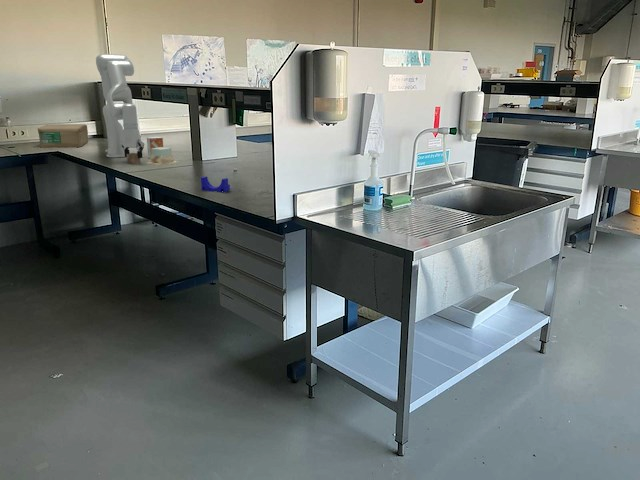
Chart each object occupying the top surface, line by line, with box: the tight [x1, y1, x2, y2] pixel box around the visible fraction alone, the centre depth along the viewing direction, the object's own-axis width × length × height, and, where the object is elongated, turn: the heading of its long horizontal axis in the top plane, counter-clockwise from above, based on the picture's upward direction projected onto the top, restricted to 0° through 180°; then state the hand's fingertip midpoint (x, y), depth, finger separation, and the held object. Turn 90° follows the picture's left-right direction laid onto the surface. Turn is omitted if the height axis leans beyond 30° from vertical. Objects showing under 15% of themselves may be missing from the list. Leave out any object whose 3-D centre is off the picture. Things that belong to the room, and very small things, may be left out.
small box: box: [146, 136, 164, 159], centre depth 319 cm, size 8×6×13 cm
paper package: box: [37, 123, 89, 149], centre depth 369 cm, size 27×26×14 cm
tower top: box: [151, 146, 173, 157], centre depth 304 cm, size 8×8×4 cm
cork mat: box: [145, 160, 180, 166], centre depth 306 cm, size 14×14×1 cm
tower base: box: [149, 154, 175, 164], centre depth 305 cm, size 9×9×4 cm
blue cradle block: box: [200, 176, 231, 193], centre depth 238 cm, size 12×4×6 cm, turn 71°
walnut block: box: [126, 152, 141, 165], centre depth 300 cm, size 5×5×6 cm
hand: (133, 157), depth 300 cm, fingers open, 9 cm apart
